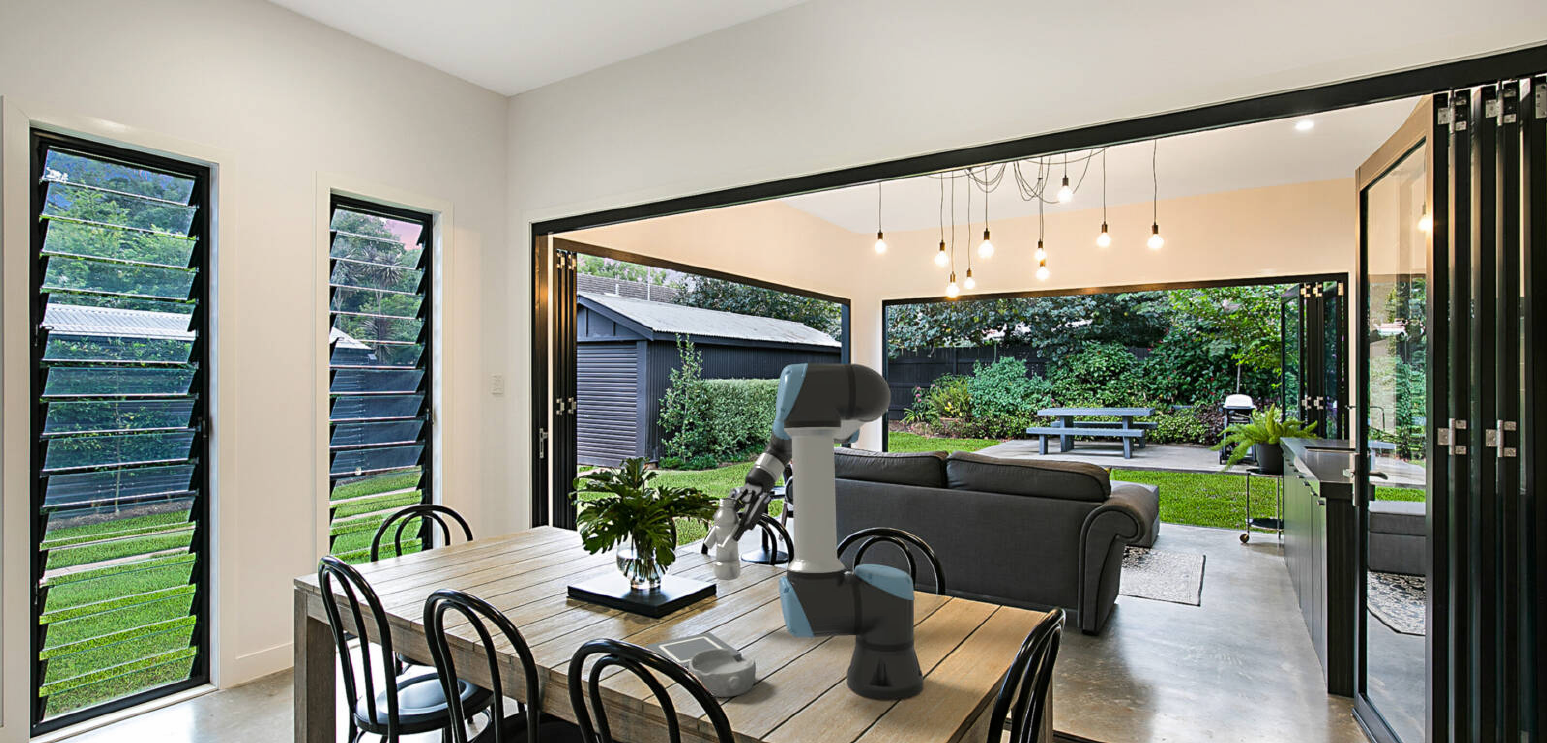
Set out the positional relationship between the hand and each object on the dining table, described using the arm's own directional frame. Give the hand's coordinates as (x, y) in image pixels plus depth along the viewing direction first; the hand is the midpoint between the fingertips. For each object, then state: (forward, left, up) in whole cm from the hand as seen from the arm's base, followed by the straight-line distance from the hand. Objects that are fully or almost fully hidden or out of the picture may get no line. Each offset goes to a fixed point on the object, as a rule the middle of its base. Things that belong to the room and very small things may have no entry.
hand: (716, 548), depth 179 cm
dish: (-29, +13, -21) cm, 38 cm away
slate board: (-11, +12, -20) cm, 26 cm away
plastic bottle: (+1, -4, -9) cm, 9 cm away
